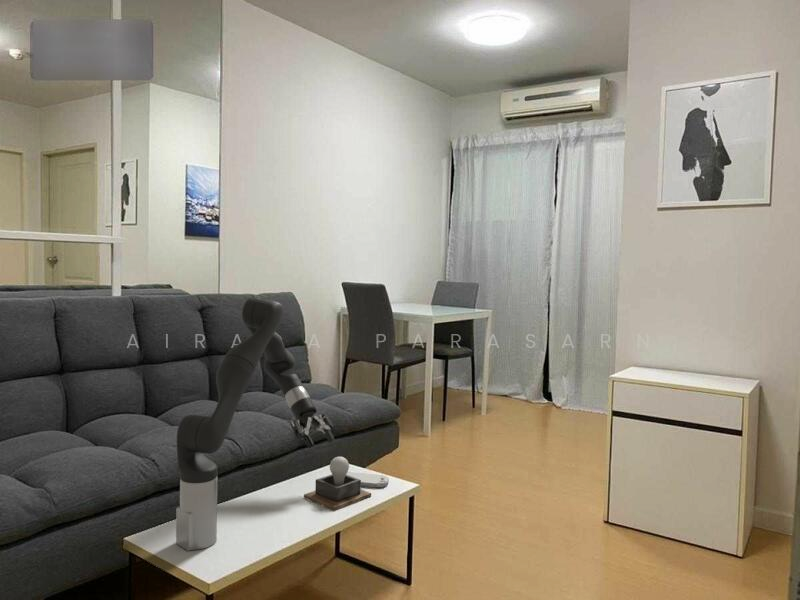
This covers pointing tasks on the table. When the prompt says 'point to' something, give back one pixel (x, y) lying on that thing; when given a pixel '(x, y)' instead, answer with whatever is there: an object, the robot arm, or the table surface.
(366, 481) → the game console
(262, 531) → the table surface
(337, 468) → the lightbulb
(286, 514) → the table surface
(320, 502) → the holder
